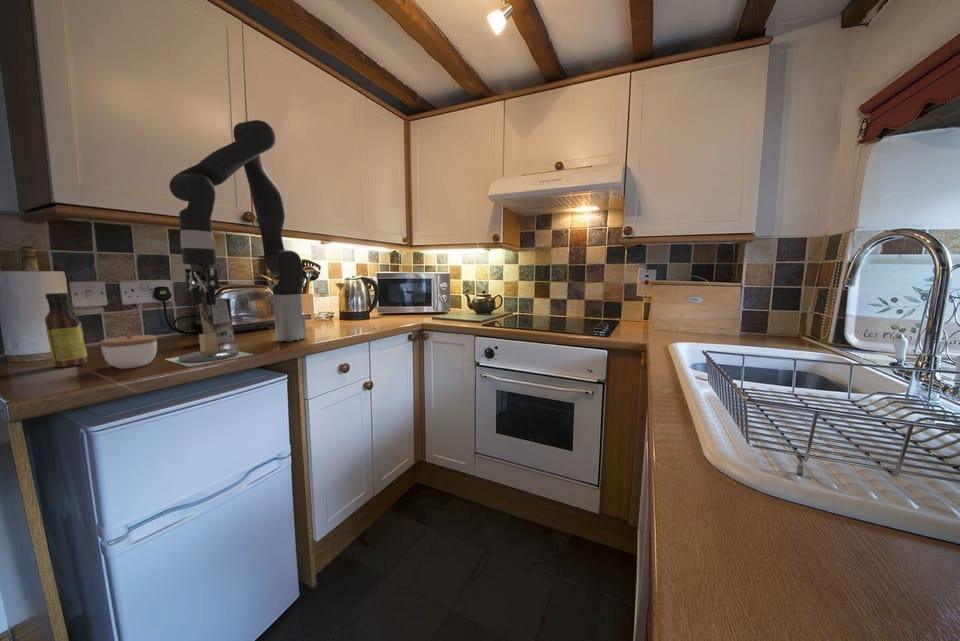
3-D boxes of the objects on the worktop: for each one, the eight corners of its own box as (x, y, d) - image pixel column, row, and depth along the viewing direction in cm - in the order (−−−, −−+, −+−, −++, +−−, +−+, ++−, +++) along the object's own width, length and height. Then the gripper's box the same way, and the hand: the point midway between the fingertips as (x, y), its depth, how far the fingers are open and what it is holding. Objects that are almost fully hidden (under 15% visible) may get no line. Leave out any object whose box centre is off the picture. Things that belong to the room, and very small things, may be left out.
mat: (226, 349, 114) (226, 348, 114) (253, 355, 107) (253, 354, 106) (164, 360, 101) (164, 359, 101) (189, 368, 93) (189, 366, 93)
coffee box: (235, 341, 128) (231, 298, 126) (215, 345, 122) (210, 299, 120) (221, 339, 132) (217, 297, 130) (202, 342, 127) (197, 298, 124)
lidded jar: (95, 369, 91) (89, 334, 90) (146, 360, 101) (142, 328, 100) (117, 374, 87) (112, 337, 86) (168, 363, 97) (164, 330, 96)
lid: (224, 349, 113) (222, 329, 112) (247, 354, 106) (245, 332, 105) (170, 358, 101) (167, 335, 100) (192, 365, 94) (189, 340, 93)
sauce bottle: (95, 362, 99) (84, 292, 96) (67, 368, 92) (54, 293, 90) (74, 361, 99) (63, 292, 97) (45, 367, 93) (32, 293, 90)
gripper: (225, 247, 99) (230, 304, 101) (202, 249, 106) (207, 302, 108) (193, 245, 93) (199, 306, 95) (171, 247, 100) (177, 304, 102)
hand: (203, 304), depth 101 cm, fingers open, 8 cm apart
